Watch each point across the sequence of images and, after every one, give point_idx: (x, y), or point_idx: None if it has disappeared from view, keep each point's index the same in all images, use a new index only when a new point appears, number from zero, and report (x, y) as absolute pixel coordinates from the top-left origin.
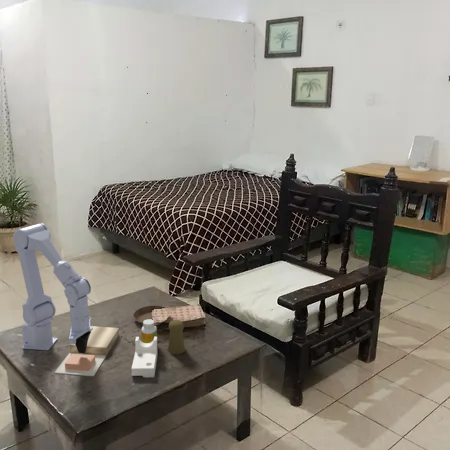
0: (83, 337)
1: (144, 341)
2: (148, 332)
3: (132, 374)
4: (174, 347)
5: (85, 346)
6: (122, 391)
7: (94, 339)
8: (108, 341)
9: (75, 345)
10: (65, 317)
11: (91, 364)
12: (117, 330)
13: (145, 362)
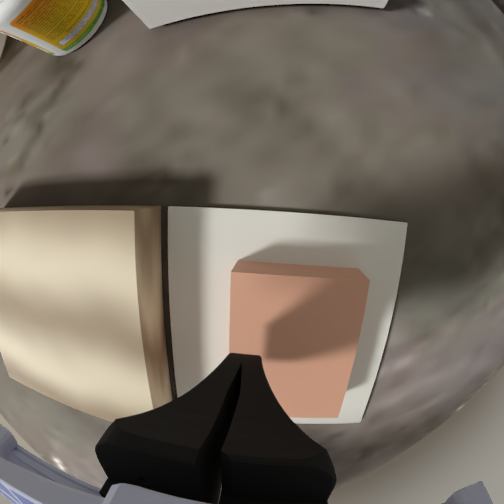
0: (318, 488)
1: (75, 7)
2: None
3: (383, 1)
4: None
5: (254, 381)
6: (483, 58)
7: (67, 321)
8: (64, 222)
9: None
10: (9, 416)
11: (312, 269)
12: None
13: None
